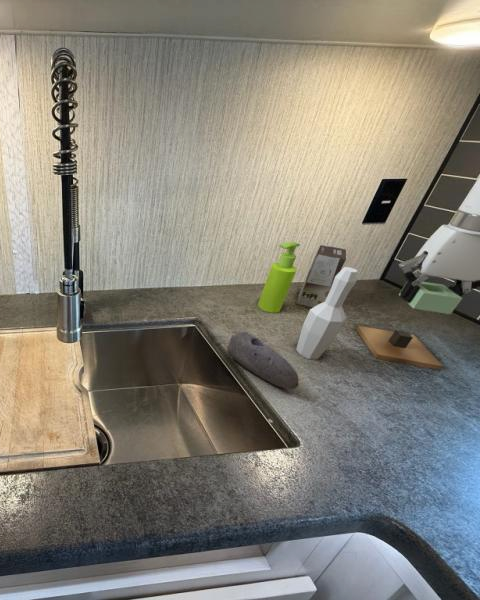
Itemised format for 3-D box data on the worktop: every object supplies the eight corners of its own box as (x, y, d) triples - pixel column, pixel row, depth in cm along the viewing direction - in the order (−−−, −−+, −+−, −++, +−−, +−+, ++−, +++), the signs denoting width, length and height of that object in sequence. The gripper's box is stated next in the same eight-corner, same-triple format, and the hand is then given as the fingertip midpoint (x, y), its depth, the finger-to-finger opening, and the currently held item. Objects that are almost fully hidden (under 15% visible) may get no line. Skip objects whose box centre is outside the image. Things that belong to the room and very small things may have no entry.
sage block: (432, 299, 71) (443, 284, 69) (450, 314, 66) (462, 298, 64) (398, 294, 73) (408, 279, 71) (413, 308, 68) (423, 292, 66)
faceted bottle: (306, 342, 77) (346, 261, 66) (330, 359, 72) (378, 274, 61) (286, 347, 76) (323, 264, 64) (309, 364, 71) (354, 278, 59)
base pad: (411, 338, 79) (421, 324, 77) (440, 370, 69) (452, 355, 67) (355, 329, 82) (363, 315, 80) (375, 358, 73) (385, 343, 70)
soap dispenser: (250, 305, 92) (272, 241, 82) (267, 300, 94) (290, 237, 84) (267, 315, 88) (293, 249, 77) (284, 310, 90) (312, 245, 79)
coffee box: (321, 310, 90) (347, 259, 82) (296, 303, 93) (318, 253, 85) (323, 297, 96) (346, 249, 88) (299, 291, 99) (319, 244, 91)
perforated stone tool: (299, 391, 64) (313, 366, 60) (284, 401, 62) (297, 375, 58) (236, 349, 75) (244, 326, 71) (221, 356, 73) (229, 333, 69)
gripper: (523, 223, 60) (462, 301, 70) (413, 213, 65) (370, 287, 74) (559, 235, 54) (487, 319, 64) (434, 223, 59) (385, 303, 68)
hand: (424, 301), depth 69 cm, fingers closed on sage block, 6 cm apart
